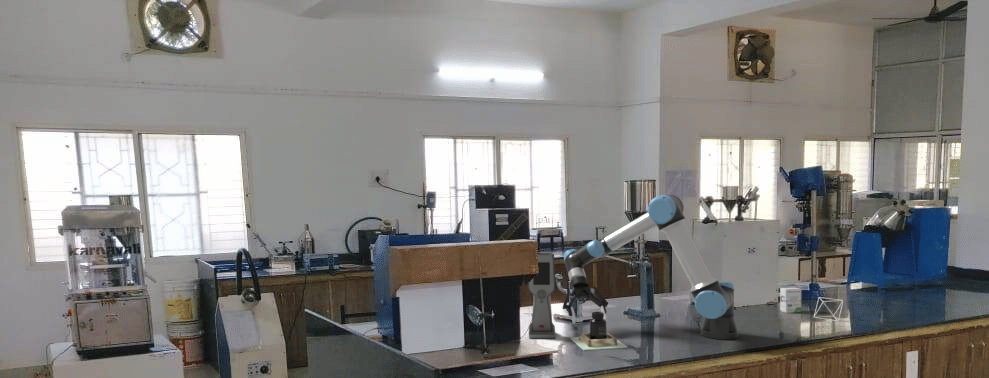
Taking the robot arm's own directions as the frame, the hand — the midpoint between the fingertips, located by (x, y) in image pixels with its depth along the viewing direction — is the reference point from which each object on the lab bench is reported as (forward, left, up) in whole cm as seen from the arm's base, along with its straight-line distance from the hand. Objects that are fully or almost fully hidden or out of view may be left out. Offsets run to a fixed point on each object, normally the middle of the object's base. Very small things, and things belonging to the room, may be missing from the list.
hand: (589, 321), depth 253 cm
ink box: (-86, -78, -7) cm, 116 cm away
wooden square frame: (-5, +8, -7) cm, 12 cm away
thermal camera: (+20, +3, -7) cm, 22 cm away
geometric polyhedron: (-101, -68, -7) cm, 122 cm away
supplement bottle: (-5, +8, -7) cm, 11 cm away
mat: (-5, +8, -7) cm, 12 cm away
